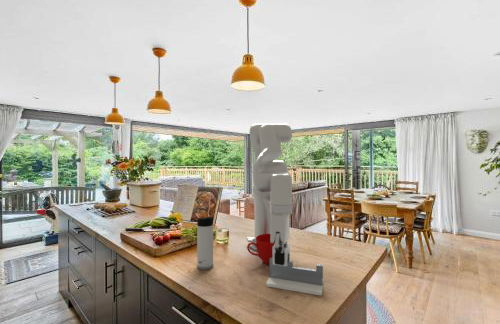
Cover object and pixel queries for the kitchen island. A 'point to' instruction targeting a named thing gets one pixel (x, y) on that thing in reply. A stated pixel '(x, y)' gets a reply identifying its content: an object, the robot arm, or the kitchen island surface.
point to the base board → (295, 286)
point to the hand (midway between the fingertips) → (281, 260)
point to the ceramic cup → (263, 248)
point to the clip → (286, 254)
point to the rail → (297, 273)
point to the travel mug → (205, 243)
